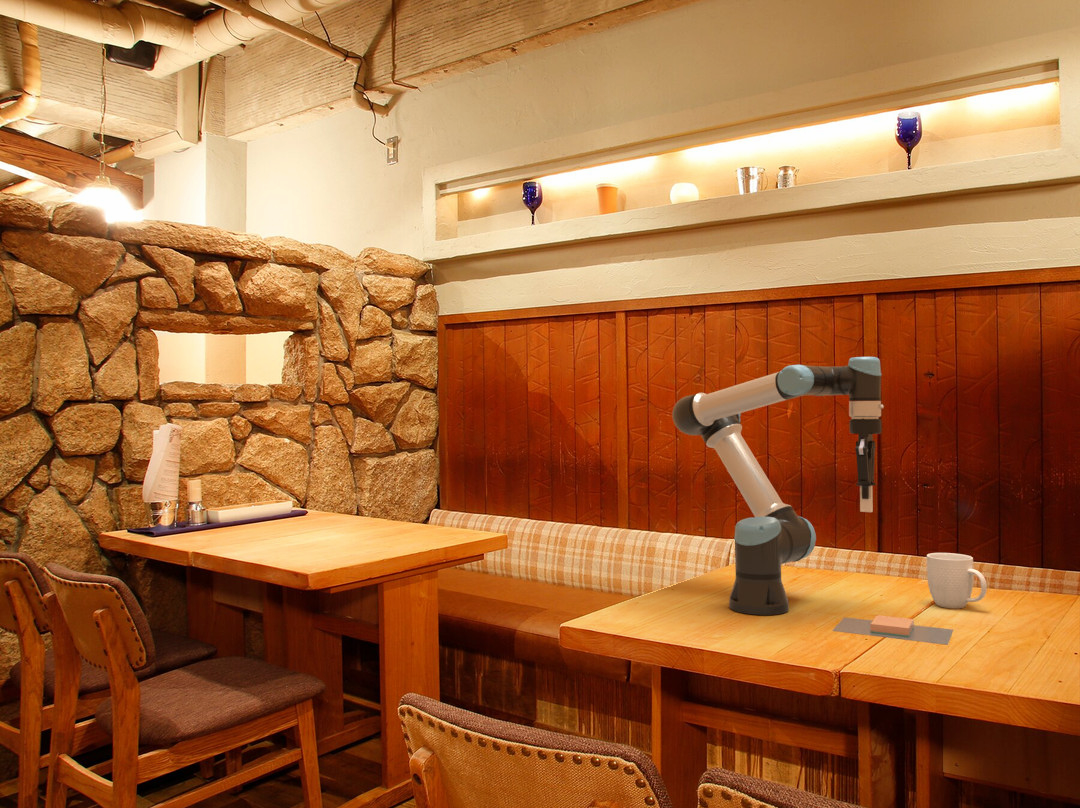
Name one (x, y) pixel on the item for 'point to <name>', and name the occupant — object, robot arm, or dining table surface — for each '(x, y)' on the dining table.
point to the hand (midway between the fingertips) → (866, 511)
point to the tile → (892, 626)
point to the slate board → (916, 635)
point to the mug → (952, 579)
